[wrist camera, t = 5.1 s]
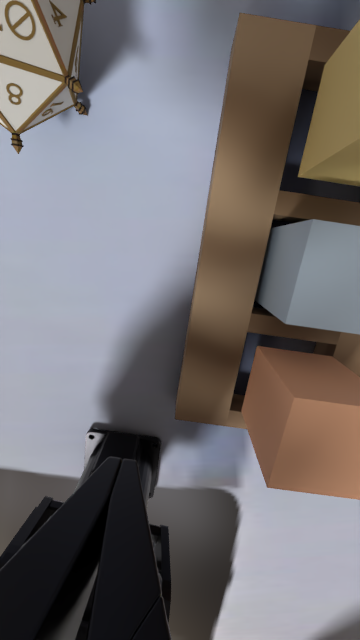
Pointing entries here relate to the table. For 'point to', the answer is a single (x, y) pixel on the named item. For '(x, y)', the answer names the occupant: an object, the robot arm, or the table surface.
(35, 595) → the robot arm
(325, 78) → the olive yellow block
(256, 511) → the table surface
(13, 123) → the game die
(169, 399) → the table surface
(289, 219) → the wooden slotted tray
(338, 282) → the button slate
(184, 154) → the table surface
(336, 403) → the orange brown block
